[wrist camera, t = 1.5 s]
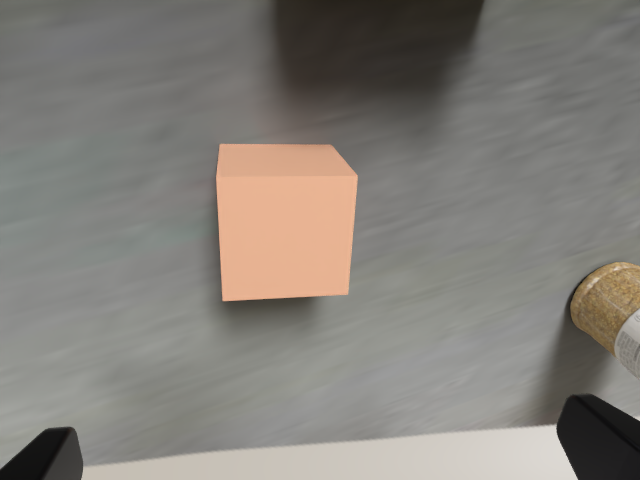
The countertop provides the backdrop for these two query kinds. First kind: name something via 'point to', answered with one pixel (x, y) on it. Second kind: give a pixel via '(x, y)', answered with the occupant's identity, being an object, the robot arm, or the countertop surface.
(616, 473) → the robot arm
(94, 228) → the countertop surface
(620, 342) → the sprinkles bottle
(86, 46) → the countertop surface
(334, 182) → the terracotta cube
